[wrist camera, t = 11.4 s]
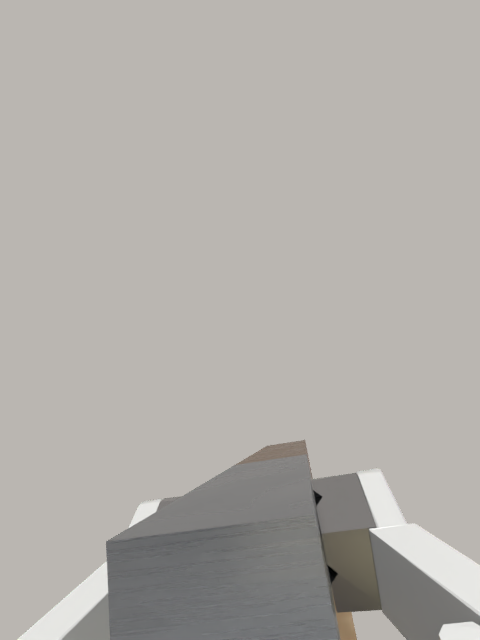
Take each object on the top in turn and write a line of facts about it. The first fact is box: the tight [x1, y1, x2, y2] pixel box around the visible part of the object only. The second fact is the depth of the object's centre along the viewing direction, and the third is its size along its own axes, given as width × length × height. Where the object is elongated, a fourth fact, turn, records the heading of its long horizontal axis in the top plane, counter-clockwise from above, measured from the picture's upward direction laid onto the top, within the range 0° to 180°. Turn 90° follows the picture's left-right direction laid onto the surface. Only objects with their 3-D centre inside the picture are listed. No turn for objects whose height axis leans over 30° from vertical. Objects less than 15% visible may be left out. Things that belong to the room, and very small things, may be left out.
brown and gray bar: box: [106, 440, 341, 640], centre depth 13 cm, size 2×20×2 cm, turn 170°
